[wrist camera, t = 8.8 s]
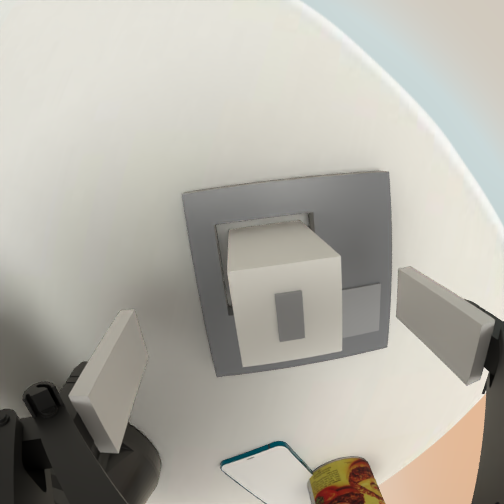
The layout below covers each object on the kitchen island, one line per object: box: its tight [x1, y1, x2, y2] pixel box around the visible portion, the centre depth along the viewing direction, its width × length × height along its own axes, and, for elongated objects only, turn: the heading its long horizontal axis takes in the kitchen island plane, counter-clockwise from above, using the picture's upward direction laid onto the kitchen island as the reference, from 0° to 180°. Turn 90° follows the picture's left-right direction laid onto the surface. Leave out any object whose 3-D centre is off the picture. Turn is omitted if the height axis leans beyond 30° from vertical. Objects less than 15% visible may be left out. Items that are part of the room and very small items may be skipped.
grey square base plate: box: [182, 171, 392, 377], centre depth 23 cm, size 14×14×2 cm
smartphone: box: [220, 441, 313, 504], centre depth 31 cm, size 8×1×16 cm
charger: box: [227, 220, 342, 367], centre depth 19 cm, size 5×5×9 cm
